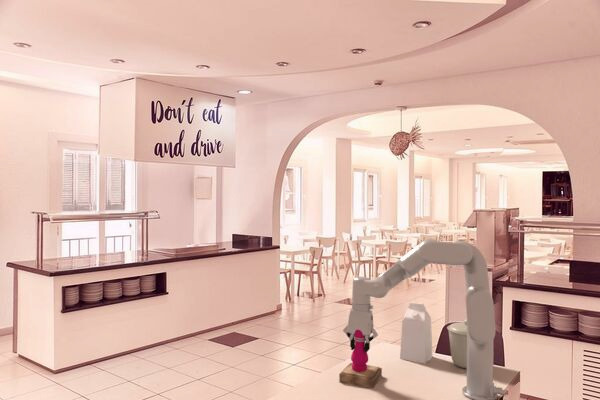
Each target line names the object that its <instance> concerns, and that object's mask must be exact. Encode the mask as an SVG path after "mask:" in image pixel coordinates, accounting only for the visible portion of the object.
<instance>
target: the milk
mask: <svg viewBox="0 0 600 400" xmlns="http://www.w3.org/2000/svg"><path fill="white" fill-rule="evenodd" d="M426 309H427V308H426V307H425V304H424V303H421V302H413V301H411V302H410V303H409V305H408V308H407V309H406V311H405V313H404V316H403V318H402V322H401V324H402V325H401V336H400V337H401V339H400V351H399V352H400V353H399V359H401V360H405V361H410V362H414V363H418V364H419V363H420V364H423V365H424V364H427V362H429V361H430V360H431V359H432V358H433V336H432V335H433V334H432V333H433V332H432V318H431V316H430V314H429V312H428V311H427V310H426Z"/></svg>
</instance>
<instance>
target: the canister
mask: <svg viewBox="0 0 600 400" xmlns="http://www.w3.org/2000/svg"><path fill="white" fill-rule="evenodd" d="M446 329H447V330H448V336H449V347H450V355H451V361H452V363H454V365H455V366H457V367H459V368H463V369H466V370H467V318H465V319H464V320H463V322H454V323H451V324H450V325H448V326H447V327H446Z"/></svg>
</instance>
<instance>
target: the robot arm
mask: <svg viewBox="0 0 600 400" xmlns="http://www.w3.org/2000/svg"><path fill="white" fill-rule="evenodd" d="M430 264H438V265H449V266H459V267H463V270H464V271H463V272H464V279H465V280H464V281H465V306H466V307H465V308H466V319H467V369H466V385H465V386H464V387H462V388H461V389H462V390H461V391H462V394H463V395H464V396H465V397H467V398H468V399H471V400H497V399H498V395H500V396H501V395H502V396H506V394H507V393H506V392H507V391H506V389H503V387H497V386H496V385H495V382H494V339H495V336H496V321H495V320H496V319H495V318H496V317H495V307H494V306H495V305H494V298H493V296H492V294H491V290H490V278H489V270H488V265H487V262H486V259H485V257H484V255H483V253H482V252H481V250H480V249H479V248H478V247H476V246H475V245H474V244H472V243H470V242H468V241H465V240H457V241H454V242H445V241H438V240H435V239H433V238H427V239H424V240H423V241H421V242H420V243H418V245H415V246H414V247H413V248H412V249H411V250H410V251H408V252H407V253H405V254H404V255H403V256H402V257H400V258H398V260H397V261H396V262H395V263H394V264H392V265H391V266H390V267H389V268H388V269H386V270H385V271H384V272H382V273H381V274H380V275H378V276H377V277H375V279H370V278H369V277H367V276H355V277H354V278H353V279H352V294H351V296H352V297H351V298H352V299H351V309H349V310H350V311H349V315H348V321H347V323H348V324H347V325H346V326H345V327H344V328H343V329H342V331H343V333H344V334H345V335H346V336H347V337H348V339H349V341H350V342H349V343H350V344H349V347H350V350H351V351H353V350H354V348H355V340H354V336H355V335H354V334H355V331H356V330H361V331H362V333H363V335H364V336H365V339H366V341H365V352H367V353H368V351H369V350H370V348H371V343H370V342H371V341H373V340H374V339H375V338H377V337H378V336H379V333H378V332H377V331H376V330H375V328H374V326H375V325H374V316H373V309H374V308H375V307H374V305H372V303H371V297H372V298H375V299H376V298H377V299H382V298H385V297H386V296H387V295H388V293H389V292H390V291H391V290H392V289H393V288H395V287H396V286H398V285H400V284H401V283H402V282H403V281H405V280H406V279H409V278H412V277H413V276H415V275H416V274H419V272H421V271H422V270H423V269H424V268H426V267H427V266H428V265H430Z"/></svg>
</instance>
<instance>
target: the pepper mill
mask: <svg viewBox="0 0 600 400" xmlns="http://www.w3.org/2000/svg"><path fill="white" fill-rule="evenodd" d="M354 335H355V336H354V340H355V348H354V349H353V350H352V352H351V355H350V360H351V363H353V364H352V369H353V370H355V371H359V372H362V371H366V370H367V365H368V364H367V363H368V362H369V355H368V351H367V352H365V342H366V339H365V336H364V335H363V333H362V331H361V330H356V331H355V334H354Z"/></svg>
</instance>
